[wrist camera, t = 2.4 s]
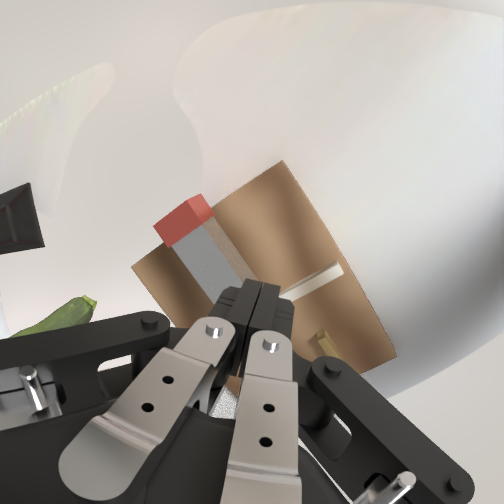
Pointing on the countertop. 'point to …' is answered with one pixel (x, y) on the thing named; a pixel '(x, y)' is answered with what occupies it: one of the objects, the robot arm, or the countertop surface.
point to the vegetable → (64, 316)
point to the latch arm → (204, 247)
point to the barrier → (19, 221)
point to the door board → (280, 274)
